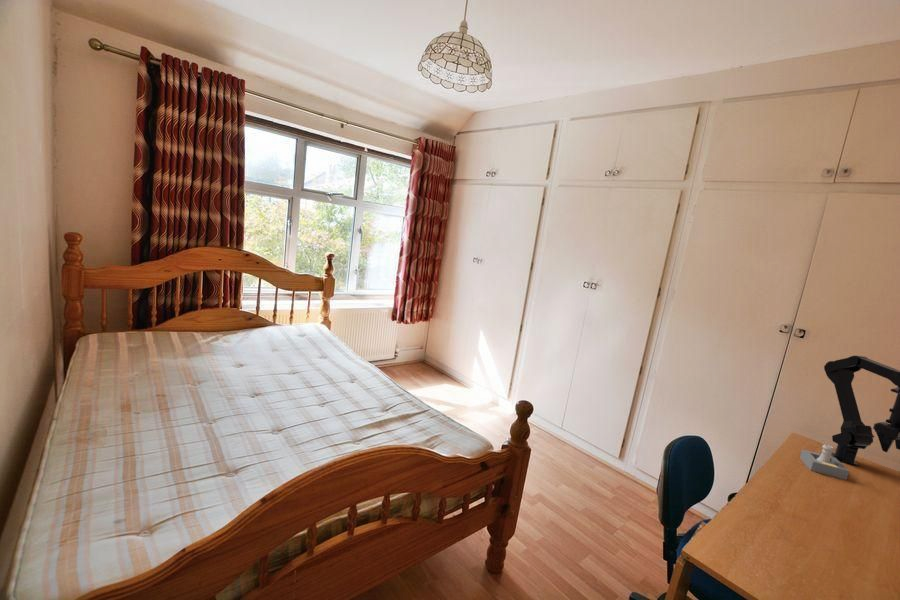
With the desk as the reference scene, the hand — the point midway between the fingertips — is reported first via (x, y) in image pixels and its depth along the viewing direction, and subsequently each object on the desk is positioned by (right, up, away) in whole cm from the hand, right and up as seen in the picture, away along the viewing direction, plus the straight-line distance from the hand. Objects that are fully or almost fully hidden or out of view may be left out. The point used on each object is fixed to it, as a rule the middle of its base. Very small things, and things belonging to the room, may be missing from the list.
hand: (891, 450), depth 141 cm
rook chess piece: (-19, -8, +6) cm, 21 cm away
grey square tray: (-19, -9, +6) cm, 22 cm away
